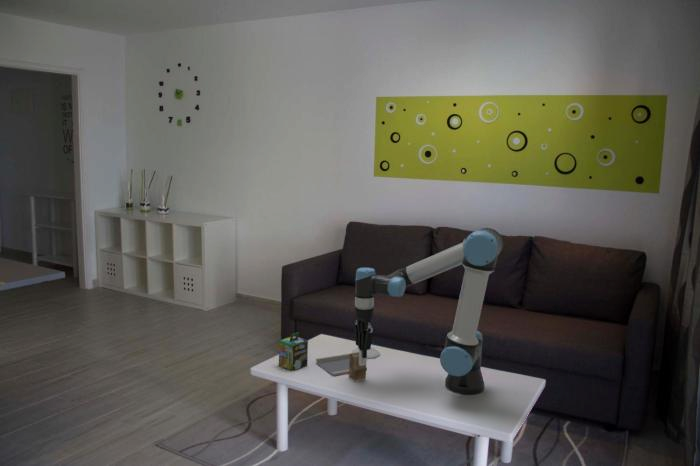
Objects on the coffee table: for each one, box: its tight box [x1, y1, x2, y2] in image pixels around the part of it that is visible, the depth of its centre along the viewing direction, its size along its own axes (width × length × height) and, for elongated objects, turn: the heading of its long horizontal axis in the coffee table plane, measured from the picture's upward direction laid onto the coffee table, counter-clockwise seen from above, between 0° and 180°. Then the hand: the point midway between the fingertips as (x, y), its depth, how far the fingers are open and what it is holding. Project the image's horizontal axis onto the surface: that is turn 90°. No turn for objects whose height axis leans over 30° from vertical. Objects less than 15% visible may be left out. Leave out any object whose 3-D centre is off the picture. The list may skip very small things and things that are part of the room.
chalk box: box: [278, 331, 309, 372], centre depth 245 cm, size 9×9×15 cm
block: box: [348, 352, 367, 382], centre depth 233 cm, size 5×5×10 cm
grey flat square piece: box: [315, 353, 368, 377], centre depth 246 cm, size 16×16×2 cm
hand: (362, 364), depth 229 cm, fingers closed
